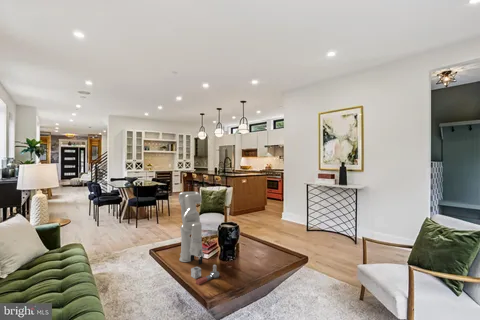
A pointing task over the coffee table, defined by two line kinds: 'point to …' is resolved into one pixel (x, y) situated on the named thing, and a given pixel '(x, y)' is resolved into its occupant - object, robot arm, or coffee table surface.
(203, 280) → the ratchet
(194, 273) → the socket
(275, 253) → the coffee table surface
